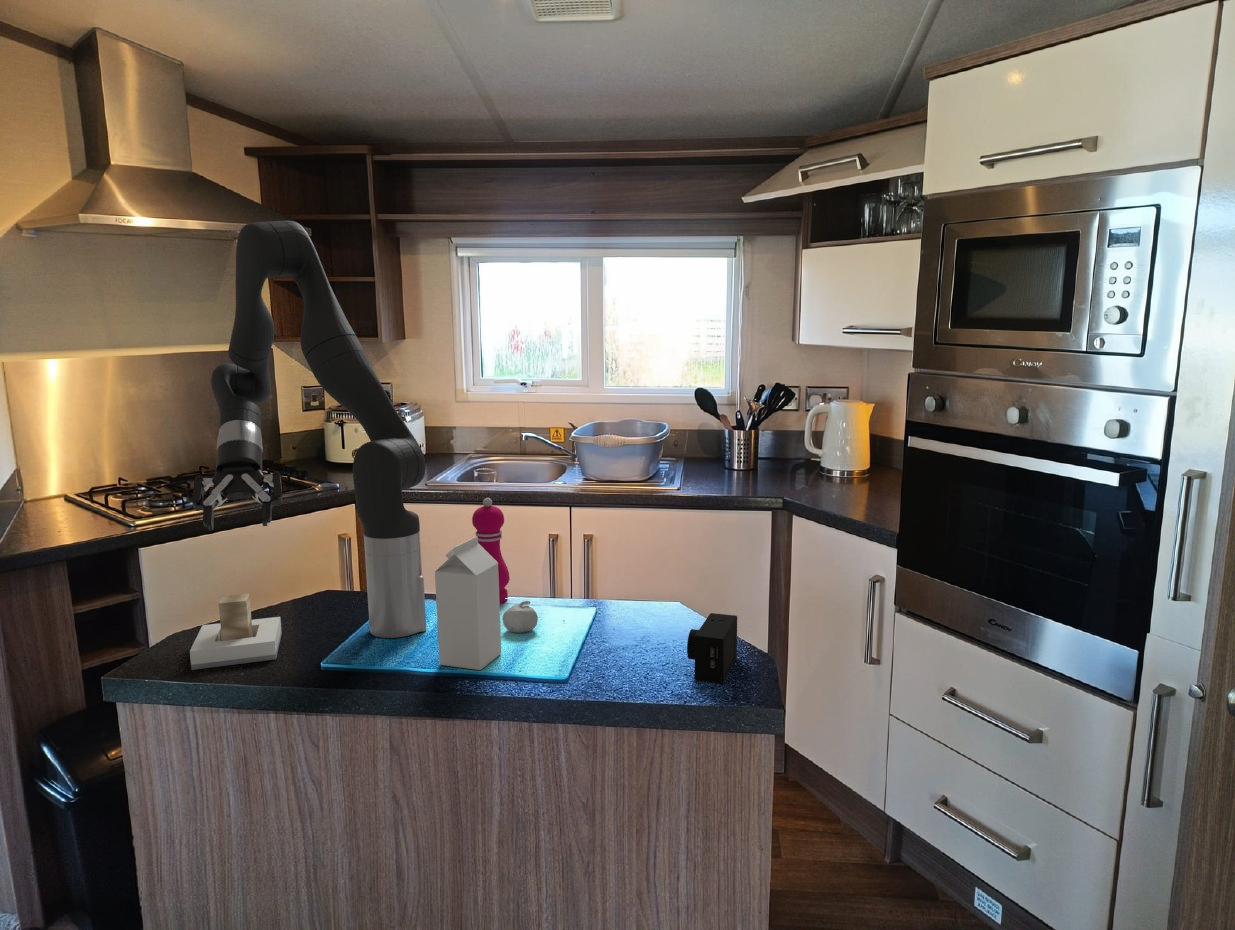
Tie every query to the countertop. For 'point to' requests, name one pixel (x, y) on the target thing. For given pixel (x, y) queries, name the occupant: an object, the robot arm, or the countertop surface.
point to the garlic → (520, 618)
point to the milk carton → (468, 607)
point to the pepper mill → (492, 539)
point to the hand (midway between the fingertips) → (237, 525)
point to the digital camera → (713, 648)
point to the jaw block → (235, 617)
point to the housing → (236, 645)
